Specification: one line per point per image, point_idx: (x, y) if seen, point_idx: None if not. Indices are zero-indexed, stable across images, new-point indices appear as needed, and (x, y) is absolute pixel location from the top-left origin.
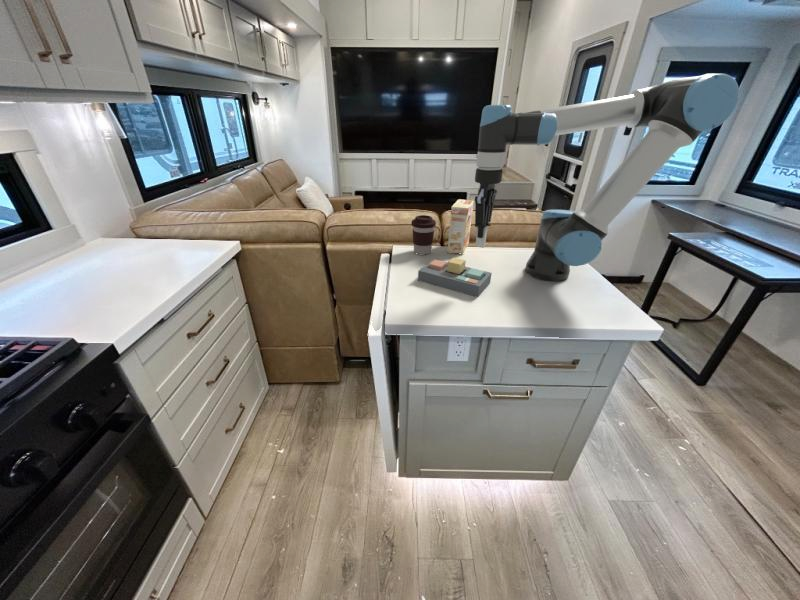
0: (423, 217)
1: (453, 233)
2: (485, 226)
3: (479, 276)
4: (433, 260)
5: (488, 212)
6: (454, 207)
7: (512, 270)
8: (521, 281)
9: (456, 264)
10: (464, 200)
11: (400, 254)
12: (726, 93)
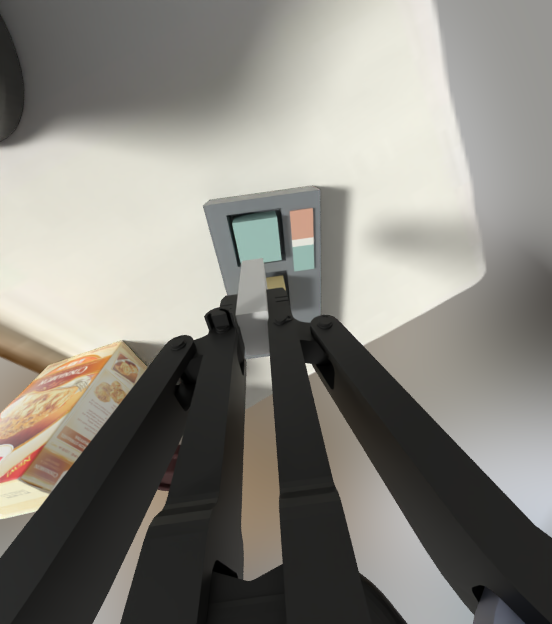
0: (162, 482)
1: (115, 404)
2: (283, 316)
3: (276, 217)
4: (252, 356)
5: (229, 403)
6: None
7: (61, 181)
8: (105, 106)
9: None
10: None
11: None
12: None
